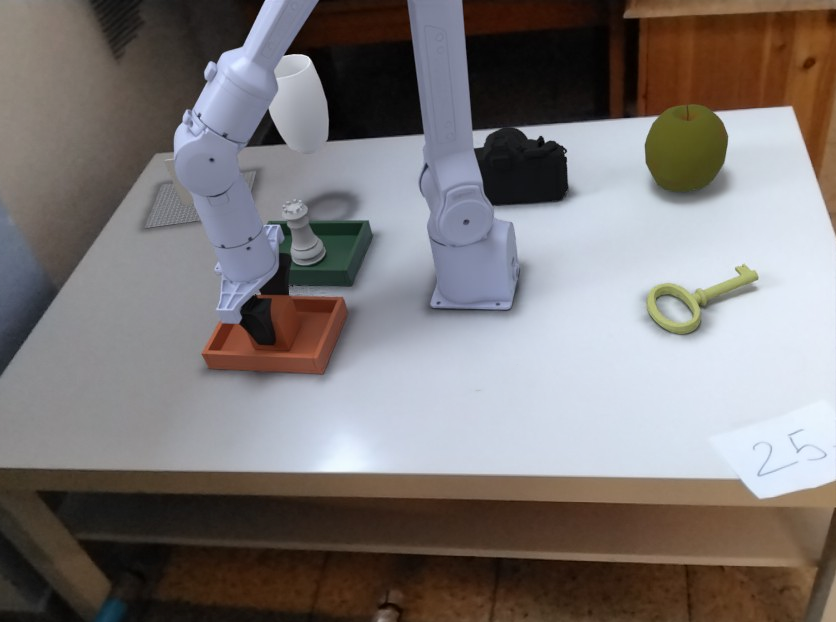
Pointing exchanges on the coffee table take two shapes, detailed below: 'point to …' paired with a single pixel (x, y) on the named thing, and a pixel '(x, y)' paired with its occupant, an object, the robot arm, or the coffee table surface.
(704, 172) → the apple
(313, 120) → the cup
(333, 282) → the green tray
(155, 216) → the architectural model
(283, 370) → the terracotta tray
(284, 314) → the terracotta block
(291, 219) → the rook chess piece
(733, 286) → the key
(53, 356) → the coffee table surface
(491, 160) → the film camera
